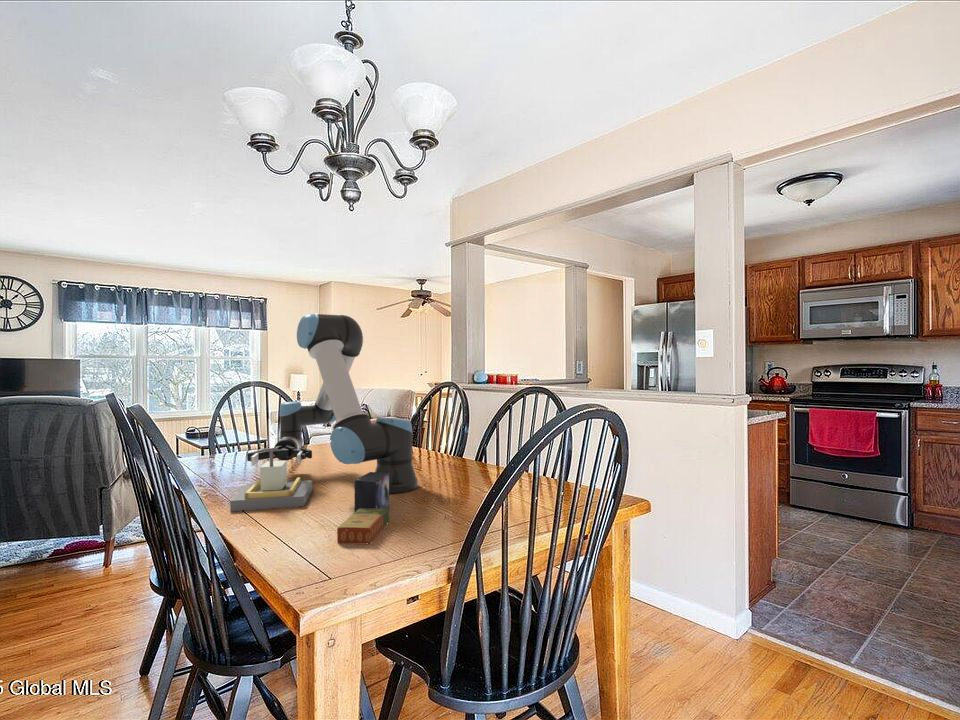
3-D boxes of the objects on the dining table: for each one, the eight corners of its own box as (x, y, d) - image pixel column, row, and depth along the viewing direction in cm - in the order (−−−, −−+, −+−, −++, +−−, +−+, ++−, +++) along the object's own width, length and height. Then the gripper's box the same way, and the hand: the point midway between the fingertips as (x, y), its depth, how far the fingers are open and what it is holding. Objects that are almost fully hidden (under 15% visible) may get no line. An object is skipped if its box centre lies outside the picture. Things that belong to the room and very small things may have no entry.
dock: (312, 489, 171) (312, 475, 171) (304, 506, 151) (303, 491, 151) (247, 493, 167) (247, 479, 167) (230, 511, 147) (230, 495, 147)
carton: (336, 544, 121) (336, 526, 121) (359, 522, 137) (358, 506, 137) (371, 545, 121) (370, 527, 121) (389, 523, 137) (389, 507, 137)
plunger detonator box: (287, 485, 164) (286, 443, 164) (282, 492, 155) (281, 447, 155) (267, 486, 163) (266, 443, 163) (260, 494, 154) (260, 448, 154)
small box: (376, 520, 138) (375, 481, 138) (353, 518, 140) (352, 480, 139) (390, 508, 149) (390, 472, 148) (369, 507, 150) (369, 471, 150)
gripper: (323, 457, 187) (317, 470, 166) (249, 460, 182) (233, 474, 161) (322, 436, 187) (316, 446, 166) (249, 439, 182) (233, 450, 161)
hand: (275, 460), depth 164 cm, fingers open, 13 cm apart
